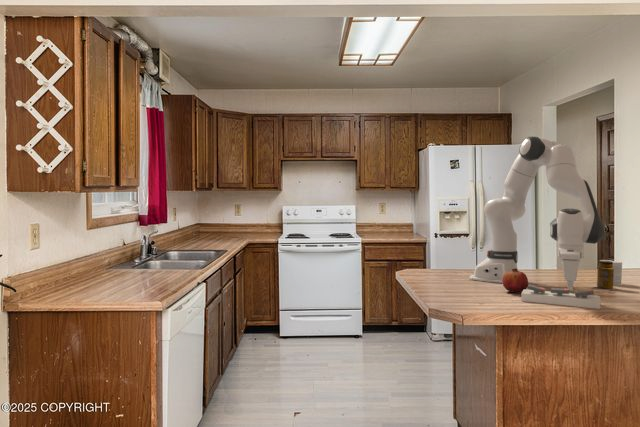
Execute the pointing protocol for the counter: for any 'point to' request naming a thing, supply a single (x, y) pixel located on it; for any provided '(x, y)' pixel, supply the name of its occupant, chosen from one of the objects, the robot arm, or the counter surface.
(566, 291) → the rocker middle
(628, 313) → the counter surface
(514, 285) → the fruit
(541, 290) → the rocker left
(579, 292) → the rocker right
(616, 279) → the small box
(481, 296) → the counter surface
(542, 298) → the power strip
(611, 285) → the condiment
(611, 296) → the counter surface
